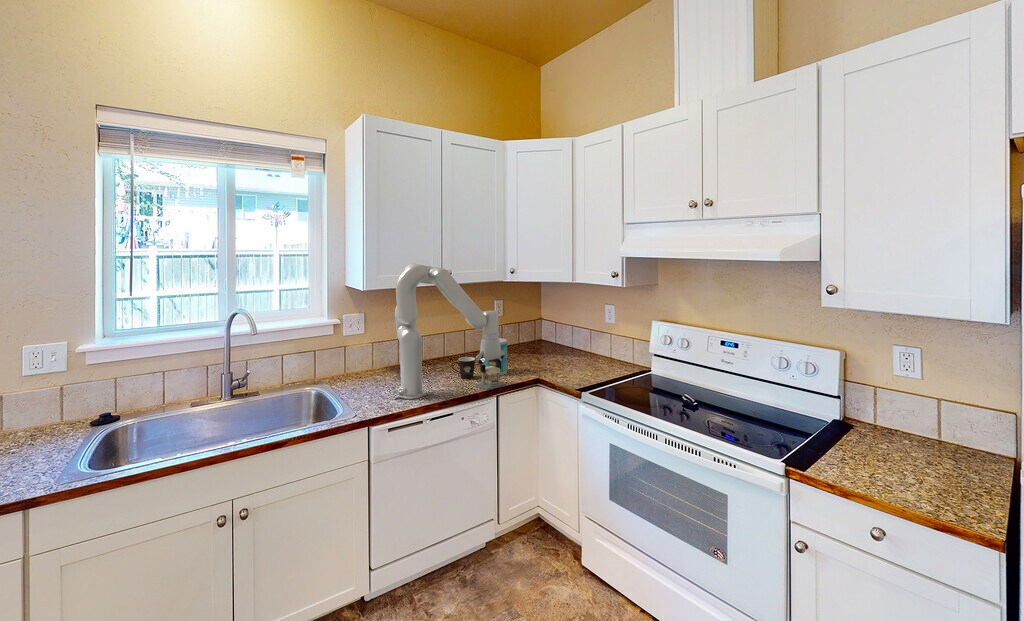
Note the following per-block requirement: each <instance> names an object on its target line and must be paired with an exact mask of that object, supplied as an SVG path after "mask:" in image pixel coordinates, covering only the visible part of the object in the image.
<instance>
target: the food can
mask: <svg viewBox="0 0 1024 621" xmlns="http://www.w3.org/2000/svg"><path fill="white" fill-rule="evenodd" d="M498 338H499V340H500V346H501V350H503V351H505V354H504V358H503V359H502V361H501V369H500V375H501V376H504V374H505V375H507V373H508V340H507V339H506V338H501V337H498ZM496 360H497V359H493V360H488V361H486V362H485V364H484V365H485V367H489V366H494V367H496ZM486 375H487V376H488V374H486ZM493 377H497V373H496V374H493Z"/></svg>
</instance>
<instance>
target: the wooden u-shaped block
mask: <svg viewBox="0 0 1024 621" xmlns="http://www.w3.org/2000/svg"><path fill="white" fill-rule="evenodd" d="M485 370H486V372H485V373H482V372H481V383H482V384H485V382H486V375H487V374H488V375H487V377H488V378H487V379H488V380H487V382H488V386H489V387H492V383H494V382H497V385H499V384H500V382H501V376H500V368H497V367H494V366H489V367H485ZM496 373H497V376H496V379H494V376H493V374H496Z"/></svg>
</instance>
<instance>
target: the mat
mask: <svg viewBox="0 0 1024 621" xmlns="http://www.w3.org/2000/svg"><path fill="white" fill-rule="evenodd" d="M503 385H506V386H507V383H505V382H502V381H500V384H499V385H497V382H494V383H492V387H489V386H488V381H485V384H482V382H481V383H477V384H475V387H477V386H478V387H477V388H479V389H482V388H483V389H482V390H485V389H486V390H485V391H490V390H494V389H496V388H497V387H498V388H501V387H500V386H502V387H504V386H503ZM493 388H494V389H493ZM489 389H490V390H489Z"/></svg>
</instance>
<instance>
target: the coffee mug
mask: <svg viewBox="0 0 1024 621" xmlns="http://www.w3.org/2000/svg"><path fill="white" fill-rule="evenodd" d="M453 364H457V365H458V366H459V370H457V369H456V368H454V367H453ZM475 364H476V357H473V356H463V357H459V358H458V361H452V363H451V365H450V366H451V369H453V370H454V371H455V372H457V373H459V375H460V379H461V380H465V379H468V380H472V379H474V375H475V374H474V373H475V366H476V365H475Z"/></svg>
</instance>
